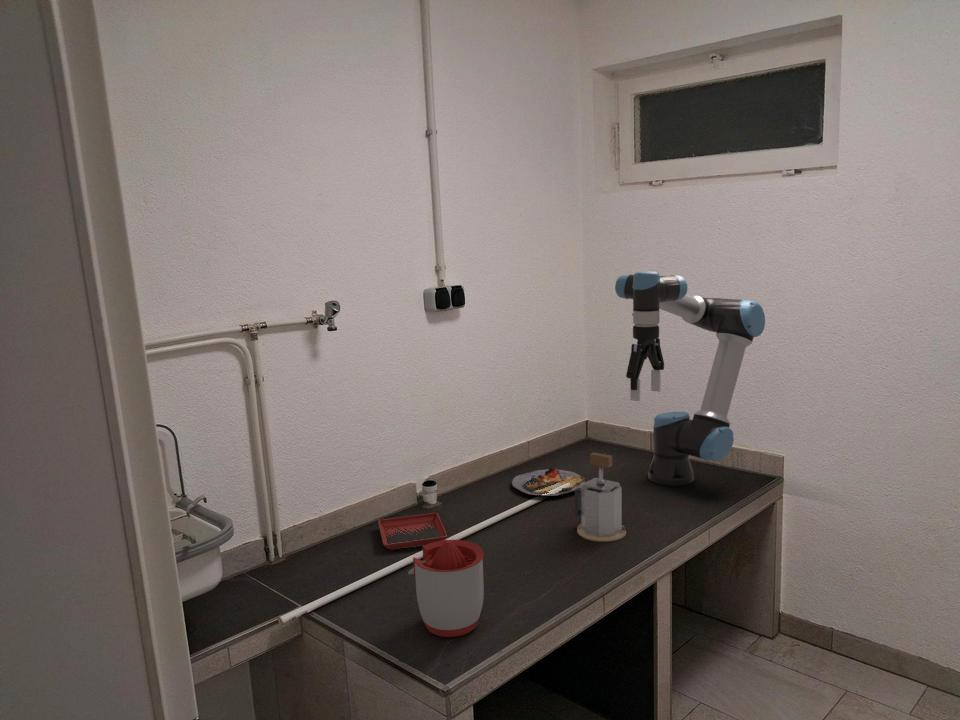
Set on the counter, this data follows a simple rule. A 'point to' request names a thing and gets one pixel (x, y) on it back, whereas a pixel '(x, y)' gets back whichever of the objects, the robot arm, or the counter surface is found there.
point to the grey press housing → (600, 511)
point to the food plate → (549, 481)
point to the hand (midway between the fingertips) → (645, 395)
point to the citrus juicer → (449, 586)
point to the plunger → (601, 464)
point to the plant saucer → (412, 523)
